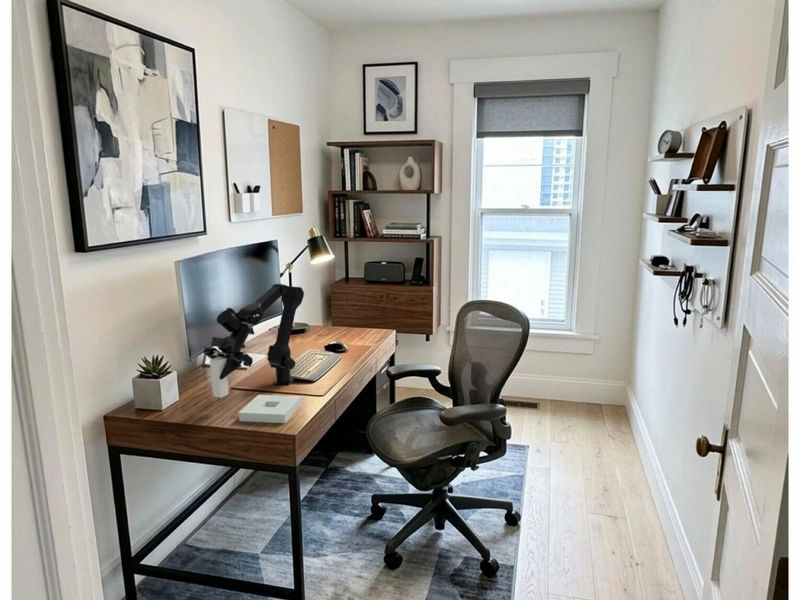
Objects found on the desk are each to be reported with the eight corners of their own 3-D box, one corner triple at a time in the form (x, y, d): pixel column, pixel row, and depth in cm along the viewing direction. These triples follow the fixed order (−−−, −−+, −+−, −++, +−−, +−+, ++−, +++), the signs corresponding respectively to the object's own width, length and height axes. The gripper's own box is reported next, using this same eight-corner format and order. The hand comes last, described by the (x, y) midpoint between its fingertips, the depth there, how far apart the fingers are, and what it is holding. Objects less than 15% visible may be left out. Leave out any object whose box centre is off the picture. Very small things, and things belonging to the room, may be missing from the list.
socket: (259, 402, 192) (258, 394, 192) (301, 404, 190) (301, 396, 189) (239, 421, 177) (238, 412, 176) (285, 423, 174) (284, 414, 174)
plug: (221, 392, 187) (217, 356, 184) (228, 394, 185) (225, 358, 182) (213, 396, 184) (209, 359, 181) (220, 397, 182) (217, 361, 179)
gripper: (204, 324, 187) (181, 363, 180) (244, 329, 179) (222, 371, 171) (223, 340, 196) (202, 378, 188) (262, 346, 187) (241, 386, 180)
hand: (216, 378), depth 182 cm, fingers closed on plug, 4 cm apart
